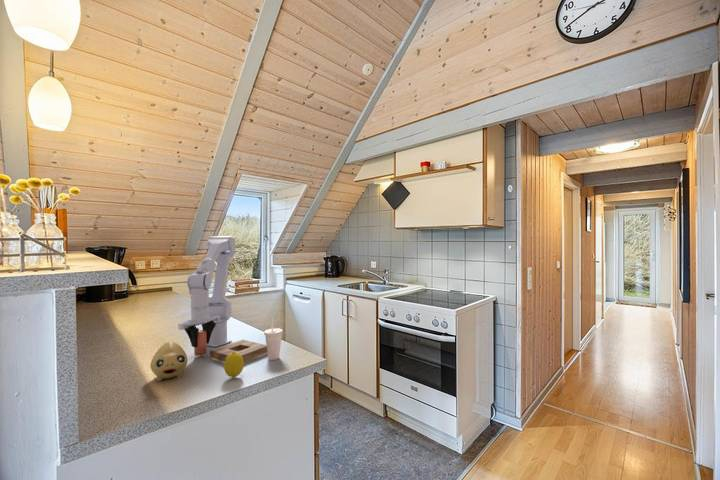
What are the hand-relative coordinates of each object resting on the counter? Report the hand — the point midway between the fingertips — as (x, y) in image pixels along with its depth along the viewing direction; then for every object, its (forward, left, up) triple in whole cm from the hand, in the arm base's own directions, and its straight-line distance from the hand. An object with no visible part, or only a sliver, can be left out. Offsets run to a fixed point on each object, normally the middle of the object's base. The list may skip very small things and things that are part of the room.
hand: (200, 344), depth 116 cm
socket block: (+11, +8, -5) cm, 14 cm away
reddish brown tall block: (0, 0, -3) cm, 3 cm away
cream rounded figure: (+8, -15, -5) cm, 18 cm away
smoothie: (+23, +13, -5) cm, 27 cm away
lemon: (+25, -5, -5) cm, 26 cm away
